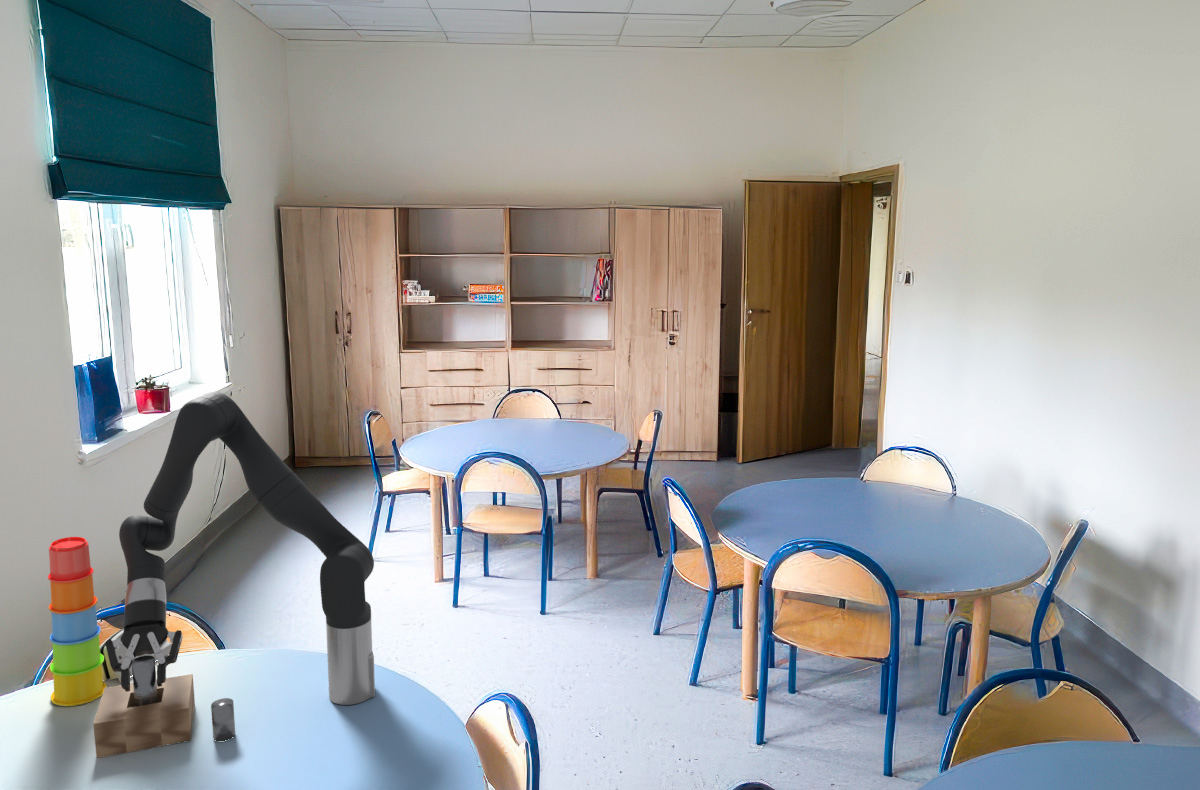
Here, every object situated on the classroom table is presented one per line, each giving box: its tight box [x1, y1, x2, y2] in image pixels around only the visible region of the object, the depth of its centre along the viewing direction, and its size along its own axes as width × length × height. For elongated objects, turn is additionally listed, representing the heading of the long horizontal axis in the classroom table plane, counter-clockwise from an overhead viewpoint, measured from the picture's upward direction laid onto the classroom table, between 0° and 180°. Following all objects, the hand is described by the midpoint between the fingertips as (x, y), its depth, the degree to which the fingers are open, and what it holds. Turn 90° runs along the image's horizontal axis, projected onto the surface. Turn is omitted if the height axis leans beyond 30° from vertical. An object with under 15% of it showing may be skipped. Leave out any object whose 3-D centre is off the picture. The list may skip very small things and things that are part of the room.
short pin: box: [210, 697, 236, 742], centre depth 167 cm, size 4×4×7 cm
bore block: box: [92, 673, 196, 759], centre depth 168 cm, size 16×14×7 cm
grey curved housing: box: [100, 627, 172, 683], centre depth 194 cm, size 17×5×10 cm, turn 166°
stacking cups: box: [47, 536, 108, 707], centre depth 178 cm, size 10×10×35 cm
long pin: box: [132, 656, 158, 707], centre depth 168 cm, size 4×4×15 cm
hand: (143, 687), depth 165 cm, fingers open, 5 cm apart
